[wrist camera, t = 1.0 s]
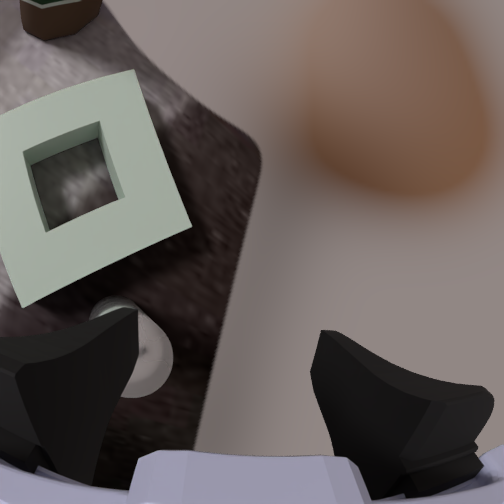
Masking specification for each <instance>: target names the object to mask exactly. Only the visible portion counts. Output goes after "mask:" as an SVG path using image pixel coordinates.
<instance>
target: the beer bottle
mask: <svg viewBox="0 0 504 504" xmlns="http://www.w3.org/2000/svg"><path fill="white" fill-rule="evenodd" d="M101 4H102V0H20V11H21V19H22V24H23V29H24V30H25V31H27V32H29V33H31V34H33V35H35V36H36V37H38V38H40V39H42V40H44V41H45V40H50V39H54V38H59V37H63V36H68V35H74V34H76V33H77V32H78V31H79V30H80V29H82V28H83V27H84V26H85V25H86V24H88V23H89V22H90V21H91V20H93V19H94V18H95V17H96V16H97V15H98V14H99V10H100V7H101Z"/></svg>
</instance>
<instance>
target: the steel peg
mask: <svg viewBox="0 0 504 504" xmlns="http://www.w3.org/2000/svg"><path fill="white" fill-rule="evenodd" d="M122 307H127V308H132V309H138V331H139V356H138V359H137V362H136V365H135V368H134V371H133V373H132V375H131V377H130V379H129V381H128V383H127V385H126V387H125V389H124V391H123V393H122V395H121V397H126V398H138V397H143V396H146V395H149V394H151V393H153V392H154V391H156V390H157V389H159V388H160V387H161V386H162V385H163V384H164V383H165V381H166V380H167V378H168V376H169V374H170V372H171V369H172V365H173V351H172V347H171V343H170V341H169V339H168V337H167V336H166V334H165V333H164V332H163V330H162V329H161V328H160V327H159V326H158V325H157V324H156V323H154V322H153V321H152V320H151V319H150V318H149V317H148V316H147V315H146V314H145V313H144V312H143V311H142V310H141V309H140V308H139V307H138V306H137V305H136V304H135V303H134V302H133V301H132V300H130V299H128V298H126V297H124V296H119V295H112V296H107V297H105V298H103V299H101V300H100V301H98V302H97V303H96V304H95V306H94V307H93V309H92V311H91V314H90V318H89V320H92V319H94V318H97V317H99V316H101V315H104V314H106V313H108V312H111V311H113V310H116V309H119V308H122Z"/></svg>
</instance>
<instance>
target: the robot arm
mask: <svg viewBox="0 0 504 504" xmlns="http://www.w3.org/2000/svg"><path fill="white" fill-rule="evenodd" d="M138 356H139V331H138V309H132V308H127V307H122V308H119V309H116V310H113V311H111V312H108V313H106V314H104V315H101V316H99V317H97V318H94V319H92V320H89V321H87V322H84V323H81V324H78V325H76V326H73V327H70V328H67V329H63V330H59V331H55V332H51V333H46V334H40V335H33V336H25V337H0V504H504V445H500V446H498V447H496V448H494V449H492V450H489V451H487V452H485V453H484V454H482V455H481V456H480V457H479V458H478V457H477V455H476V454H475V453H474V452H476V451H477V449H478V446H477V444H476V443H475V442H474V441H475V439H476V438H477V436H478V435H479V433H480V432H481V430H482V429H483V427H484V426H485V424H486V423H487V421H488V419H489V417H490V416H491V413H492V410H493V407H494V398H493V395H492V394H491V393H490V392H488V391H487V389H486V388H484V387H482V386H476V385H465V384H455V383H451V382H445V381H440V380H436V379H432V378H429V377H426V376H422V375H419V374H416V373H413V372H411V371H408V370H406V369H404V368H401V367H399V366H396V365H395V364H392V363H390V362H388V361H387V360H384V359H383V358H381V357H379V356H377V355H376V354H374V353H372V352H370V351H369V350H367V349H366V348H364V347H362V346H361V345H359V344H358V343H356V342H355V341H353V340H351V339H350V338H348V337H346V336H345V335H343V334H341V333H339V332H337V331H330V330H321V333H320V337H319V341H318V345H317V349H316V353H315V356H314V360H313V363H312V367H311V371H310V373H311V380H312V385H313V390H314V393H315V396H316V399H317V402H318V404H319V407H320V410H321V413H322V415H323V418H324V420H325V423H326V426H327V429H328V432H329V434H330V438H331V442H332V446H333V450H334V455H335V456H326V455H307V456H251V455H232V454H220V453H209V452H201V451H193V450H158V451H156V452H153V453H151V454H148V455H146V456H143V457H141V458H139V459H138V462H137V465H136V468H135V471H134V475H133V479H132V482H131V486H130V489H129V491H128V490H117V489H109V488H101V487H94V486H92V482H93V477H94V472H95V468H96V463H97V459H98V455H99V452H100V448H101V445H102V441H103V438H104V435H105V432H106V428H107V425H108V422H109V420H110V417H111V415H112V413H113V410H114V408H115V406H116V404H117V403H118V401H119V399H120V397H121V395H122V393H123V391H124V389H125V387H126V385H127V383H128V381H129V379H130V377H131V375H132V373H133V371H134V368H135V365H136V362H137V359H138Z"/></svg>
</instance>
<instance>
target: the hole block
mask: <svg viewBox="0 0 504 504" xmlns="http://www.w3.org/2000/svg"><path fill="white" fill-rule="evenodd" d="M96 138H98V140H99V144H100V147H101V150H102V153H103V156H104V159H105V162H106V165H107V168H108V171H109V174H110V177H111V180H112V183H113V186H114V188H115V191H116V194H117V197H118V199H119V200H117V201H115V202H112V203H110V204H107V205H105V206H103V207H100V208H98V209H96V210H94V211H91V212H89V213H87V214H85V215H82V216H80V217H78V218H76V219H73V220H71V221H69V222H67V223H65V224H63V225H61V226H59V227H56V228H54V229H52V230H50V229H49V226H48V223H47V220H46V217H45V214H44V211H43V208H42V205H41V202H40V198H39V195H38V192H37V188H36V184H35V181H34V177H33V173H32V169H31V165H32V164H35V163H37V162H39V161H41V160H43V159H46V158H48V157H50V156H53V155H55V154H57V153H60V152H62V151H65V150H67V149H70V148H72V147H75V146H77V145H80V144H82V143H85V142H88V141H90V140H93V139H96ZM190 227H192V225H191V223H190V220H189V218H188V215H187V213H186V210H185V208H184V205H183V203H182V200H181V198H180V195H179V193H178V190H177V187H176V185H175V182H174V180H173V177H172V174H171V172H170V169H169V167H168V164H167V161H166V159H165V156H164V153H163V151H162V148H161V145H160V142H159V140H158V137H157V134H156V131H155V129H154V126H153V123H152V120H151V118H150V115H149V112H148V109H147V106H146V103H145V100H144V98H143V95H142V92H141V89H140V86H139V83H138V80H137V77H136V74H135V71H134V69H132V70H128V71H124V72H120V73H116V74H112V75H108V76H104V77H101V78H97V79H94V80H90V81H87V82H84V83H80V84H77V85H74V86H71V87H68V88H65V89H62V90H60V91H57V92H54V93H51V94H49V95H46V96H44V97H41V98H38V99H36V100H34V101H31V102H29V103H26V104H24V105H22V106H19V107H17V108H15V109H13V110H11V111H8V112H6V113H4V114H2V115H0V253H1V256H2V259H3V262H4V264H5V267H6V270H7V272H8V275H9V278H10V280H11V283H12V285H13V287H14V290H15V292H16V295H17V297H18V299H19V301H20V304H21V306H22V308H24V307H26V306H28V305H30V304H31V303H33V302H35V301H37V300H39V299H41V298H43V297H45V296H47V295H49V294H51V293H53V292H55V291H56V290H58V289H60V288H62V287H64V286H66V285H68V284H70V283H72V282H74V281H76V280H78V279H80V278H82V277H84V276H86V275H88V274H91V273H93V272H95V271H97V270H99V269H101V268H103V267H105V266H107V265H109V264H111V263H113V262H115V261H118V260H120V259H122V258H124V257H126V256H128V255H130V254H132V253H135V252H137V251H139V250H141V249H143V248H145V247H148V246H150V245H152V244H154V243H156V242H159V241H161V240H163V239H165V238H168V237H170V236H172V235H174V234H177V233H179V232H181V231H183V230H186V229H188V228H190Z"/></svg>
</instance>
